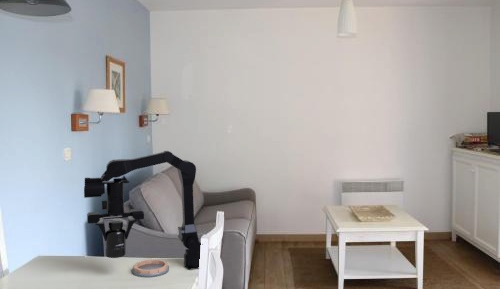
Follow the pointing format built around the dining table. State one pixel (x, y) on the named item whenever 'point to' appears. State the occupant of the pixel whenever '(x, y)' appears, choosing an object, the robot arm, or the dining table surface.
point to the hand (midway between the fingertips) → (116, 240)
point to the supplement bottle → (115, 240)
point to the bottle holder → (150, 268)
